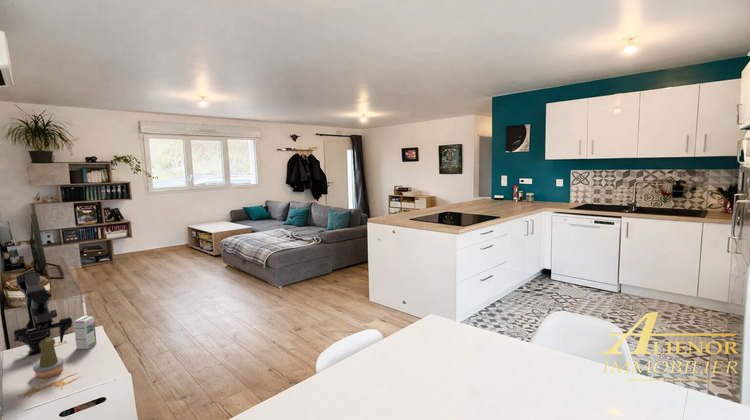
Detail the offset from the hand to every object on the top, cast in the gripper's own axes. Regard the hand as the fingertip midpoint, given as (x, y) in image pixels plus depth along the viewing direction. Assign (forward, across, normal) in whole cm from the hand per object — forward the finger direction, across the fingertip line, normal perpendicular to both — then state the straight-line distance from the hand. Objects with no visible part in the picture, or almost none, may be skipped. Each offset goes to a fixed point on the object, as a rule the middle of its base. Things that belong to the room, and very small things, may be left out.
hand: (47, 346), depth 155 cm
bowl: (+8, 0, +10) cm, 13 cm away
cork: (+5, 0, +7) cm, 9 cm away
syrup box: (-4, +16, +22) cm, 28 cm away
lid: (+5, 0, +7) cm, 9 cm away
